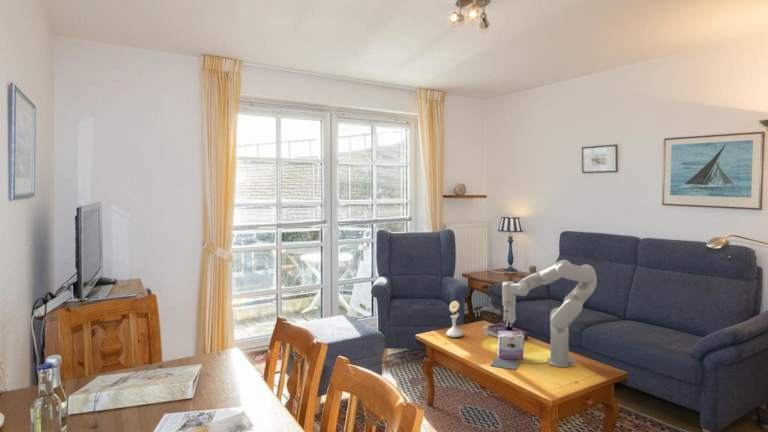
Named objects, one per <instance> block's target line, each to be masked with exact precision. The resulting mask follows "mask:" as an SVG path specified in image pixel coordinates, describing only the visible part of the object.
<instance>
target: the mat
mask: <svg viewBox="0 0 768 432" xmlns="http://www.w3.org/2000/svg"><path fill="white" fill-rule="evenodd" d="M520 364H521V361H519V360H514V359H501V358H499V357H495V358H494V359H493V361H492V362H491V363H490V365H489V366H490V367H492V368H500V369H505V370H510V371H511V370H512V371H517V368H518V367H519V366H520Z"/></svg>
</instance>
